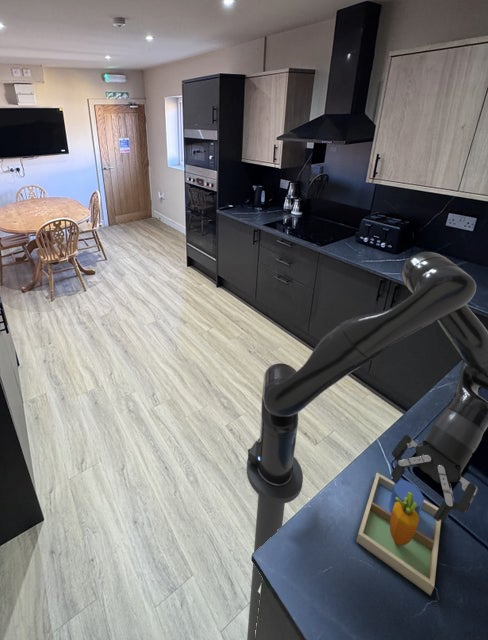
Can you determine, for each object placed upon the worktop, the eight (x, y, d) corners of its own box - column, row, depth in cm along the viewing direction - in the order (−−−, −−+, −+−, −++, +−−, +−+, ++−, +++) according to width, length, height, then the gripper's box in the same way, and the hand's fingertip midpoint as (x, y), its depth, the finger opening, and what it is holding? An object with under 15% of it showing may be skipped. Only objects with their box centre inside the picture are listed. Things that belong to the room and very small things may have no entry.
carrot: (400, 562, 70) (414, 516, 65) (379, 537, 74) (391, 492, 69) (414, 550, 72) (430, 505, 67) (393, 527, 76) (406, 482, 71)
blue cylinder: (386, 513, 79) (391, 494, 76) (391, 493, 83) (396, 474, 81) (415, 532, 75) (422, 512, 73) (419, 510, 79) (425, 491, 77)
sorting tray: (356, 542, 74) (358, 533, 73) (374, 480, 87) (376, 472, 86) (430, 596, 65) (434, 586, 64) (439, 518, 78) (442, 510, 77)
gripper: (415, 409, 75) (376, 468, 73) (492, 461, 63) (449, 533, 62) (422, 417, 79) (386, 473, 78) (496, 467, 67) (455, 534, 66)
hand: (414, 499), depth 70 cm, fingers open, 8 cm apart
